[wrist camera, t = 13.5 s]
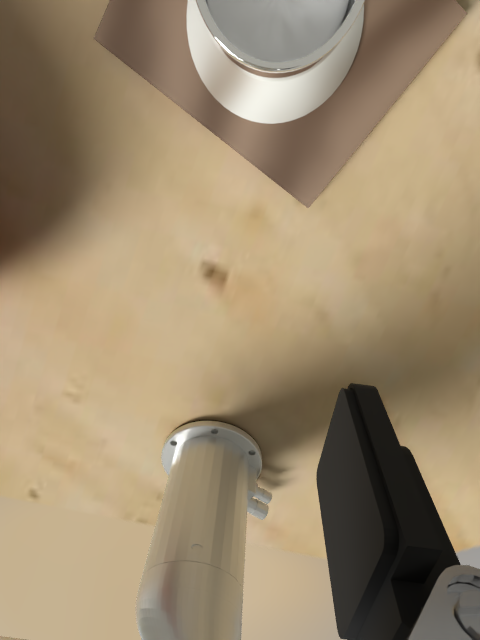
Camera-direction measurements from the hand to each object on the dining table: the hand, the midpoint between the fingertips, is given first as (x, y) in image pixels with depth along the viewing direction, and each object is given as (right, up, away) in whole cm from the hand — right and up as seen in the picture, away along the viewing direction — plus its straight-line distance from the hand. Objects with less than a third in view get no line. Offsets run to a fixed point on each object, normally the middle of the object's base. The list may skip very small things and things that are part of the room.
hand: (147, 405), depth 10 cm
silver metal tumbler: (+5, +22, +17) cm, 29 cm away
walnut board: (+5, +23, +18) cm, 30 cm away
